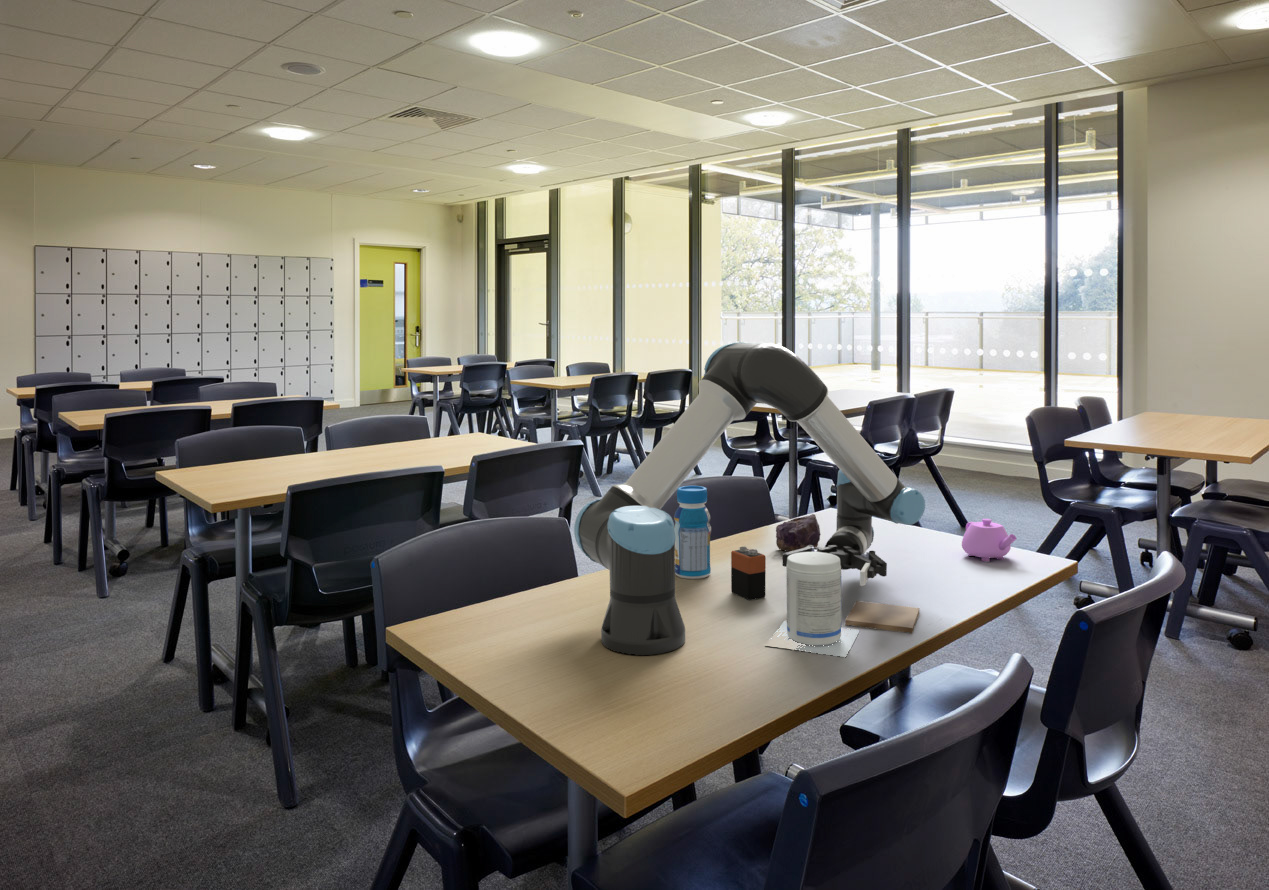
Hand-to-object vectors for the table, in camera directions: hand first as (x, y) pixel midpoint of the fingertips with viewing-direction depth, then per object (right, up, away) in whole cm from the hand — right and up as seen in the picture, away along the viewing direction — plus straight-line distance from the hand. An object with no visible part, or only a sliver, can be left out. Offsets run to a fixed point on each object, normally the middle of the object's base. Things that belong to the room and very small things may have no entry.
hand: (825, 575), depth 160 cm
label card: (-4, -10, -8) cm, 13 cm away
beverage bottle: (-23, -5, +33) cm, 41 cm away
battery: (-12, -7, +18) cm, 23 cm away
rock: (+6, -2, +53) cm, 54 cm away
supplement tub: (-4, -10, -8) cm, 13 cm away
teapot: (+49, -3, +43) cm, 65 cm away
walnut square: (+11, -9, +2) cm, 14 cm away
